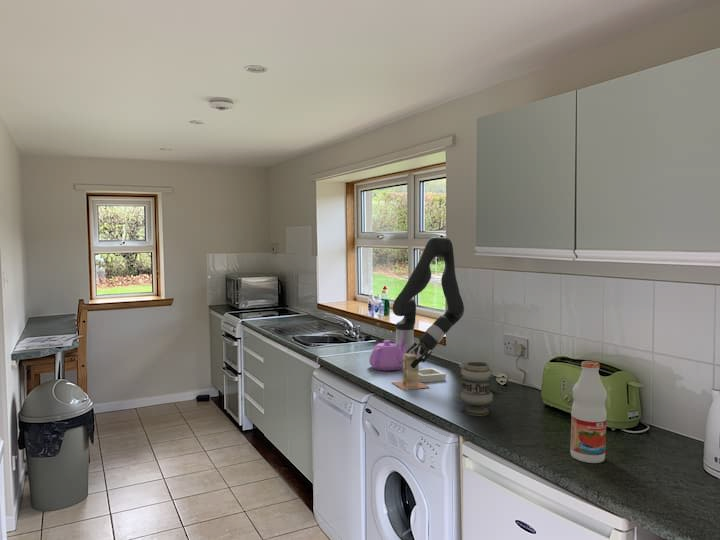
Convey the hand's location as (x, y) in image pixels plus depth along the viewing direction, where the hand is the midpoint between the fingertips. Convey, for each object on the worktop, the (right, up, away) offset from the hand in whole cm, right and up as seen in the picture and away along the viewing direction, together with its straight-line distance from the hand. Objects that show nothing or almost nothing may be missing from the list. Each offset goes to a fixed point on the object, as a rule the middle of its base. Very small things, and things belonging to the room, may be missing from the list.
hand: (407, 364), depth 233 cm
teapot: (-6, -8, +31) cm, 33 cm away
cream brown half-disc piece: (+28, -10, +1) cm, 29 cm away
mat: (+1, -9, +1) cm, 9 cm away
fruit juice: (+46, -14, -75) cm, 89 cm away
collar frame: (+10, -9, +14) cm, 19 cm away
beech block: (+1, -9, +1) cm, 9 cm away
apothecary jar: (+22, -12, -34) cm, 42 cm away
